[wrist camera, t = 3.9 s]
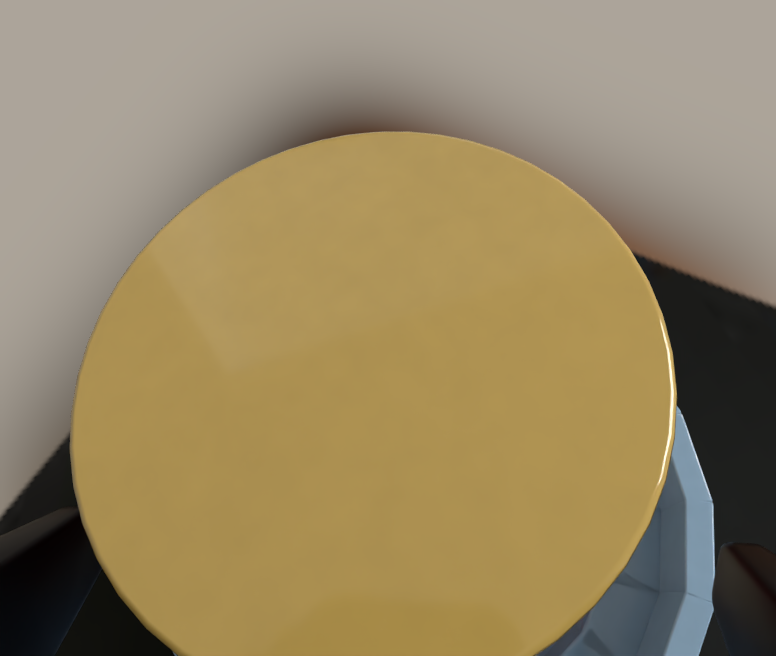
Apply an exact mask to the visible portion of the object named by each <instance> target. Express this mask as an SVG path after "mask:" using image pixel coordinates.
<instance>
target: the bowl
mask: <svg viewBox="0 0 776 656" xmlns="http://www.w3.org/2000/svg"><path fill="white" fill-rule="evenodd" d="M714 577H715V558H714V515H713V503H712V498H711V495H710V492H709V489H708V487H707V484H706V481H705V478H704V475H703V472H702V469H701V467H700V464H699V461H698V458H697V455H696V452H695V449H694V447H693V444H692V441H691V438H690V435H689V432H688V429H687V426H686V424H685V421H684V418H683V415H682V414H681V411H680V410H679V408H678V407H677V408H676V428H675V440H674V445H673V450H672V455H671V460H670V465H669V469H668V474H667V479H666V483H665V486H664V488H663V491H662V494H661V496H660V499H659V502H658V504H657V507H656V510H655V512H654V515H653V518H652V520H651V523H650V525H649V527H648V529H647V531H646V532H645V534H644V536H643V538H642V540H641V541H640V543H639V545H638V547H637V548H636V550H635V552H634V554H633V556H632V557H631V559H630V561H629V563H628V565H627V566H626V568H625V569H624V570H623V571H622V573H621V574H620V575H619V577H618V578H617V579H616V580H615V582H614V583H613V584H612V585H611V587H610V588H609V589H608V591H607V592H606V593H605V594H604V596H603V597H602V598H601V599H600V601H599V602H598V603H597V605H596V606H595V607H594V608H593V609H591V610H590V611H589V612H588V613H587V614H586V615H585V616H584V617H583V618H582V619H581V620H580V621H579V622H578V623H576V624H575V625H574V626H573V627H572V628H571V629H570V630H569V631H568V632H567V633H566V634H565V635H564V636H562V637H561V638H560V639H559V640H558V641H557V642H555V643H554V644H552V645H551V646H549V647H548V648H546V649H545V650H543V651H542V652H540V653H539V654H537V655H536V656H699V653H700V650H701V647H702V644H703V641H704V638H705V635H706V632H707V629H708V626H709V623H710V620H711V617H712V613H713V610H714V608H713V604H712V588H713V583H714ZM173 653H174V652H173ZM174 655H175V656H177V655H176V654H175V653H174Z"/></svg>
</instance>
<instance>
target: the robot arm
mask: <svg viewBox="0 0 776 656" xmlns="http://www.w3.org/2000/svg"><path fill="white" fill-rule="evenodd" d="M101 570H102V567H101V565H100V564H99V562H98V560H97V558H96V556H95V553H94V551H93V548H92V546H91V543H90V541H89V539H88V536H87V534H86V531H85V529H84V526H83V524H82V520H81V516H80V512H79V507H73V506H69V507H63V508H61V509H59V510H56V511H54V512H52V513H50V514H48V515H45V516H43V517H41V518H39V519H37V520H34V521H32V522H30V523H28V524H26V525H23V526H21V527H19V528H17V529H15V530H12V531H10V532H8V533H6V534H4V535H1V536H0V656H55V654H56V652H57V651H58V649H59V647H60V645H61V643H62V642H63V640H64V638H65V636H66V634H67V633H68V631H69V629H70V627H71V625H72V623H73V622H74V620H75V618H76V616H77V614H78V612H79V611H80V609H81V607H82V605H83V603H84V601H85V600H86V598H87V596H88V594H89V592H90V591H91V589H92V587H93V585H94V583H95V581H96V580H97V578H98V576H99V574H100V572H101ZM712 604H713V608H714V612H715V615H716V618H717V621H718V624H719V627H720V629H721V632H722V635H723V638H724V641H725V644H726V647H727V649H728V652H729V655H730V656H776V555H775V554H774V553H772V552H771V551H769V550H768V549H766V548H764V547H762V546H761V545H758V544H751V543H732V542H728V543H725V544H723V545H722V547H721V548H720V551H719V555H718V561H717V566H716V572H715V577H714V583H713V588H712Z"/></svg>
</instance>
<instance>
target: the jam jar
mask: <svg viewBox="0 0 776 656" xmlns="http://www.w3.org/2000/svg"><path fill="white" fill-rule="evenodd" d="M676 408H677V390H676V380H675V370H674V360H673V353H672V349H671V345H670V342H669V338H668V334H667V330H666V326H665V322H664V318H663V314H662V312H661V310H660V307H659V305H658V302H657V300H656V298H655V295H654V293H653V290H652V288H651V285H650V283H649V281H648V279H647V277H646V276H645V274H644V272H643V271H642V269H641V267H640V265H639V264H638V262H637V260H636V259H635V257H634V255H633V254H632V252H631V250H630V249H629V248H628V246H627V245H626V244H625V243H624V241H623V240H622V239H621V238H620V236H619V235H618V234H617V232H616V231H615V230H614V229H613V227H612V226H611V225H610V224H609V222H607V221H606V220H605V219H604V218H603V217H602V216H601V215H600V214H599V213H598V212H597V211H596V210H595V209H594V208H593V207H592V206H591V205H590V204H589V203H588V202H587V201H586V200H585V199H584V198H582V197H581V196H580V195H578V194H577V193H576V192H574V191H573V190H572V189H570V188H569V187H568V186H566V185H565V184H564V183H562V182H561V181H560V180H558V179H557V178H555V177H553V176H552V175H550V174H548V173H547V172H545V171H543V170H541V169H539V168H538V167H536V166H535V165H533V164H531V163H529V162H527V161H525V160H522V159H520V158H518V157H515V156H513V155H511V154H509V153H506V152H504V151H502V150H499V149H496V148H492V147H489V146H486V145H483V144H479V143H477V142H473V141H470V140H465V139H460V138H455V137H450V136H445V135H439V134H429V133H418V132H371V133H361V134H351V135H345V136H340V137H334V138H330V139H324V140H319V141H316V142H312V143H308V144H305V145H302V146H298V147H295V148H292V149H288V150H286V151H283V152H281V153H278V154H276V155H273V156H271V157H268V158H266V159H263V160H260V161H259V162H256V163H255V164H253V165H251V166H249V167H247V168H245V169H243V170H241V171H239V172H237V173H235V174H233V175H231V176H230V177H228V178H227V179H225V180H223V181H222V182H220V183H218V184H217V185H215V186H214V187H212V188H211V189H209V190H207V191H206V192H205V193H203V194H202V195H201V196H199V197H198V198H197V199H195V200H194V201H193V202H192V203H190V204H189V205H188V206H186V207H185V208H184V209H182V210H181V211H180V212H179V213H178V214H177V215H176V216H175V217H174V218H173V219H171V220H170V221H169V222H168V223H167V224H166V225H165V226H164V227H163V228H162V229H161V230H160V231H159V232H158V233H157V234H156V235H155V236H154V237H153V238H152V239H151V241H150V242H149V243H148V244H147V245H146V246H145V247H144V249H143V250H142V251H141V252H140V253H139V254H138V255H137V256H136V258H135V259H134V261H133V262H132V263H131V265H130V266H129V268H128V269H127V270H126V272H125V273H124V275H123V276H122V277H121V279H120V280H119V282H118V283H117V285H116V286H115V288H114V290H113V292H112V293H111V295H110V297H109V299H108V301H107V302H106V304H105V306H104V308H103V309H102V311H101V313H100V315H99V318H98V320H97V322H96V325H95V327H94V329H93V332H92V334H91V336H90V339H89V341H88V343H87V346H86V350H85V353H84V356H83V360H82V363H81V366H80V370H79V373H78V376H77V382H76V387H75V393H74V399H73V405H72V411H71V431H70V456H71V467H72V478H73V487H74V491H75V495H76V499H77V503H78V507H79V512H80V516H81V520H82V524H83V526H84V529H85V531H86V534H87V536H88V539H89V541H90V543H91V546H92V548H93V551H94V553H95V556H96V558H97V560H98V562H99V564H100V565H101V567H102V569H103V570H104V572H105V574H106V575H107V577H108V579H109V580H110V582H111V584H112V585H113V587H114V589H115V590H116V592H117V594H118V595H119V597H120V598H121V599H122V600H123V602H124V603H125V604H126V605H127V606H128V608H129V609H130V610H131V611H132V612H133V613H134V615H135V616H136V617H137V618H138V619H139V621H140V622H141V623H142V624H143V625H144V627H145V628H146V629H147V630H148V631H149V632H150V633H151V634H153V635H154V636H155V637H156V638H157V639H158V640H160V641H161V642H162V643H163V644H164V645H165V646H167V647H168V648H169V649H170V650H171V651H173V652H174V653H175V654H176V655H177V656H536V655H537V654H539V653H540V652H542V651H543V650H545V649H546V648H548V647H549V646H551V645H552V644H554V643H555V642H557V641H558V640H559V639H560V638H561V637H562V636H564V635H565V634H566V633H567V632H568V631H569V630H570V629H571V628H572V627H573V626H574V625H575V624H576V623H578V622H579V621H580V620H581V619H582V618H583V617H584V616H585V615H586V614H587V613H588V612H589V611H590V610H591V609H593V608H594V607H595V606H596V605H597V603H598V602H599V601H600V599H601V598H602V597H603V596H604V594H605V593H606V592H607V591H608V589H609V588H610V587H611V585H612V584H613V583H614V582H615V580H616V579H617V578H618V577H619V575H620V574H621V573H622V571H623V570H624V569H625V568H626V566H627V565H628V563H629V561H630V559H631V557H632V556H633V554H634V552H635V550H636V548H637V547H638V545H639V543H640V541H641V540H642V538H643V536H644V534H645V532H646V531H647V529H648V527H649V525H650V523H651V520H652V518H653V515H654V512H655V510H656V507H657V504H658V502H659V499H660V496H661V494H662V491H663V488H664V486H665V483H666V479H667V474H668V469H669V465H670V460H671V455H672V450H673V445H674V440H675V428H676Z"/></svg>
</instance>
